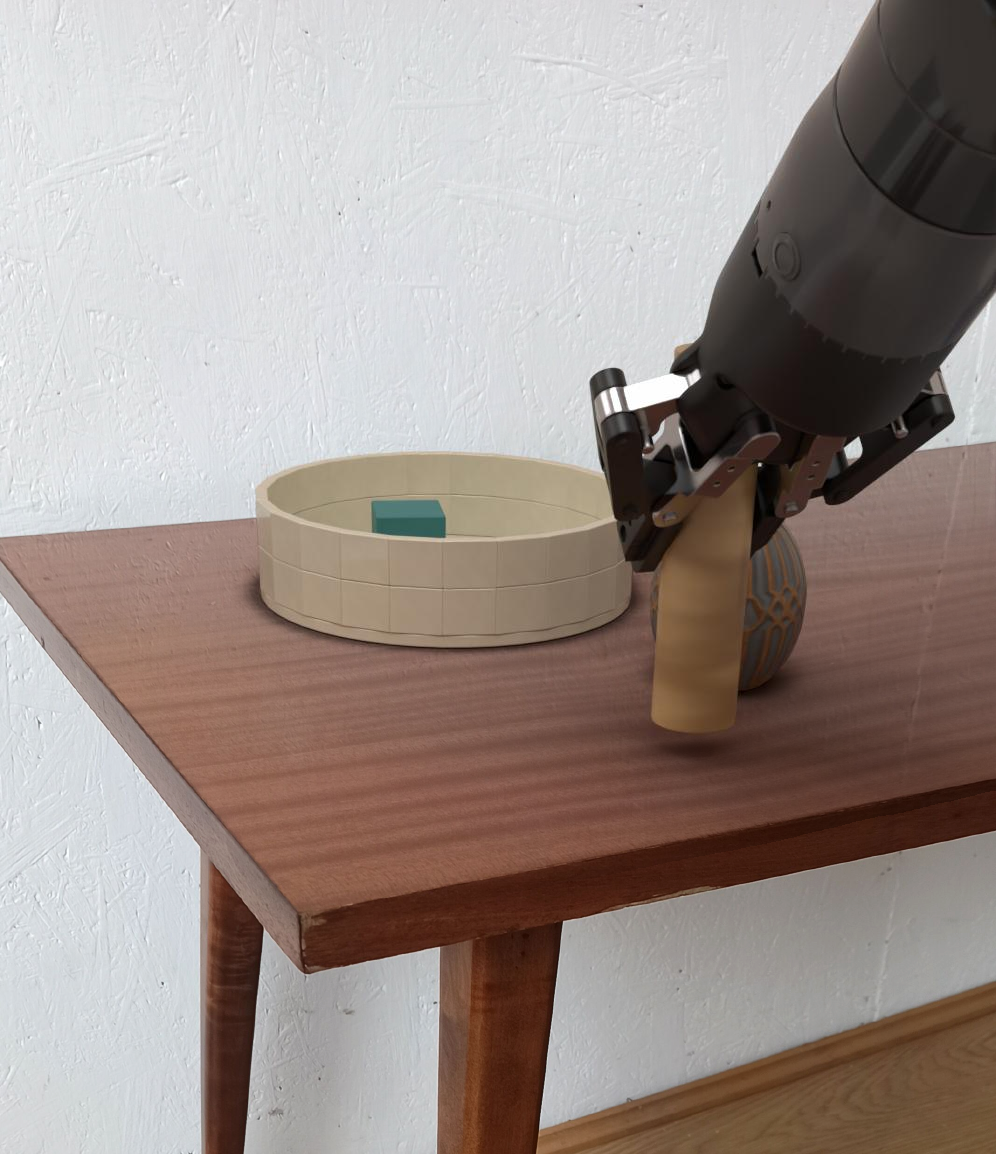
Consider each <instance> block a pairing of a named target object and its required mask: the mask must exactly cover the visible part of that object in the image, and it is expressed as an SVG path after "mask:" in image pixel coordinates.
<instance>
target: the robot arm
mask: <svg viewBox="0 0 996 1154" xmlns="http://www.w3.org/2000/svg"><path fill="white" fill-rule="evenodd" d="M847 51H848V52H847V53H846V54H845V57H844V59H843V60H842V62H841V64H840V65H839V67H838V68H837V70H836V72H835V74H834V75H833V76H832V78H831V79H830V80H829V81H828V83H827V84H826V85H825V87H824V88H823V89H822V90H821V92H820V93H819V95H818V96H817V97H816V99H815V100H814V102H813V103H812V105H811V106H810V107H809V109H808V110H807V111H806V113H805V114H804V116H803V118H802V119H801V121H800V123H799V125H797V128H796V130H795V132H794V134H793V135H792V137H791V139H790V141H789V143H788V145H787V147H786V148H785V150H784V152H783V154H782V156H781V158H780V160H779V162H778V164H777V165H776V167H775V169H774V171H773V173H772V175H771V177H770V179H769V181H768V183H767V185H766V186H765V188H764V191H763V192H762V194H761V196H760V198H759V200H758V201H757V203H756V205H755V207H754V208H753V211H752V213H751V215H750V216H749V219H748V220H747V222H746V224H745V226H744V228H743V230H742V232H741V233H740V235H739V238H738V239H737V241H736V243H735V245H734V247H733V249H732V251H731V252H730V254H729V255H728V258H727V260H726V262H725V263H724V266H723V268H722V269H721V271H720V273H719V275H718V277H717V279H716V282H715V285H714V288H713V292H712V295H711V299H710V303H709V307H708V310H707V316H706V320H705V323H704V327H703V330H702V332H701V334H700V335H699V337H698V338H697V339H695V340H694V341H693V342H692V343H693V344H691V345H690V346H689V347H688V348H686V349H685V350H684V351H682V352H681V353H680V354H679V355H678V356H677V357H676V359H675V360H674V359H673V361H672V363H671V366H670V368H669V373H668V374H664V375H661V376H658V377H653V378H650V379H647V380H644V381H641V382H637V383H633V384H629V385H628V383H627V380H626V376H625V372H624V370H623V369H621V368H619V367H607V368H604V369H603V368H602V369H601V370H598V371H597V372H596V373H595V374H593V375H592V376H591V377H590V379H589V382H588V383H589V393H590V400H591V401H590V402H591V409H592V417H593V425H594V432H595V440H596V446H597V447H596V449H597V455H598V460H599V461H598V462H599V464H600V468H601V470H602V473H604V475H605V478H606V482H607V486H608V490H609V494H610V499H611V507H612V510H613V514H614V518H615V519H616V520H617V522H616V525H617V531H618V535H619V539H620V543H621V546H622V550H623V554H624V558H625V562H628V561H631V565H632V568H633V573H635V574H641V573H654V571H655V569H656V568H657V566H658V565H659V563H660V561H661V560H662V558H663V556H664V554H665V552H666V551H667V549H668V548H669V547H670V545H671V544H672V542H673V541H674V539H675V537H676V536H677V534H678V533H679V531H680V529H681V528H682V526H683V522H682V520H683V519H684V518H685V517H686V516H687V515H688V514H689V513H690V511H691V510H692V509H693V508H694V507H695V506H696V505H697V504H698V503H699V502H700V501H701V500H702V499H703V498H704V499H718V498H719V497H720V496H721V495H722V494H723V493H724V492H725V491H726V490H727V489H728V488H729V487H730V486H731V485H732V484H733V483H734V482H735V481H736V480H737V479H738V478H739V476H740V475H741V474H742V473H743V472H744V471H745V470H746V469H747V468H748V467H749V466H750V465H752V464H757V463H758V464H760V465H758V474H757V485H756V496H755V507H754V518H753V529H752V540H751V551H750V559H751V558H752V556H753V555H754V554H755V552H756V551H758V550H760V549H761V548H762V547H764V546H765V545H766V544H768V542H769V541H770V540H771V538H772V537H773V535H774V534H775V533H776V531H777V529H779V527H780V526H781V524H782V523H783V522H785V520H786V519H788V518H792V517H795V516H797V515H800V513H802V512H803V511H804V510H805V509H806V508H807V505H808V502H809V500H812V499H816V498H821V497H822V498H823V500H824V503H825V504H826V505H828V506H839V505H842V504H845V503H847V502H848V501H850V500H852V499H853V498H854V497H855V496H857V495H859V494H861V492H862V491H864V490H865V489H866V488H868V487H869V486H870V485H872V484H873V483H874V482H875V481H877V480H878V479H880V478H881V477H883V476H884V475H885V474H886V473H888V472H889V471H890V470H891V469H893V468H895V467H896V466H897V465H898V464H900V463H901V462H902V461H904V460H905V459H907V458H908V457H909V456H910V455H912V454H913V453H915V452H916V451H917V450H918V449H920V448H921V447H922V446H924V445H925V444H927V443H928V442H929V441H931V440H932V439H933V438H934V437H936V436H937V435H939V434H940V433H941V432H942V431H944V430H945V429H946V428H948V427H949V426H950V425H951V424H952V423H954V421H955V420H956V415H955V414H956V413H955V411H954V408H953V405H952V401H951V399H950V395H949V391H948V388H947V385H946V382H945V379H944V376H943V373H942V369H941V366H942V364H943V363H944V362H945V361H946V359H947V358H948V356H949V355H950V354H951V352H953V350H954V348H955V347H956V346H957V344H958V343H959V342H960V341H961V339H962V338H963V337H964V336H965V334H966V333H967V332H968V330H969V329H970V328H971V326H972V325H973V324H974V322H975V321H976V320H977V318H978V317H979V316H980V314H981V313H982V312H983V310H984V309H985V308H986V306H987V305H988V304H989V302H990V301H991V300H992V298H993V297H994V296H995V295H996V0H875V1H874V3H873V4H872V6H871V8H870V10H869V12H868V14H867V15H866V18H865V19H864V22H863V23H862V25H861V26H860V29H859V31H858V33H857V35H856V37H855V38H854V40H853V42H852V43H851V45H850V47H849V49H848V50H847ZM663 422H664V423H663ZM662 424H664V425H663V431H662V434H661V435H660V436H659V437H658V438H657V439H656V440H655V442H654V438H653V437H655V435H657V434H658V433H659V431H660V430H661V425H662ZM858 438H859V441H860V442H859V443H860V445H861V454H860V456H859V457H858V458H857V459H856V460H855V461H853V462H852V463H851V464H849V461H848V458H847V454H846V451H845V448H846V447H847V446H849V445H850V444H851V443H852V442H854V441H855V440H856V439H858ZM675 467H676V469H677V475H676V471H675Z"/></svg>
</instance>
